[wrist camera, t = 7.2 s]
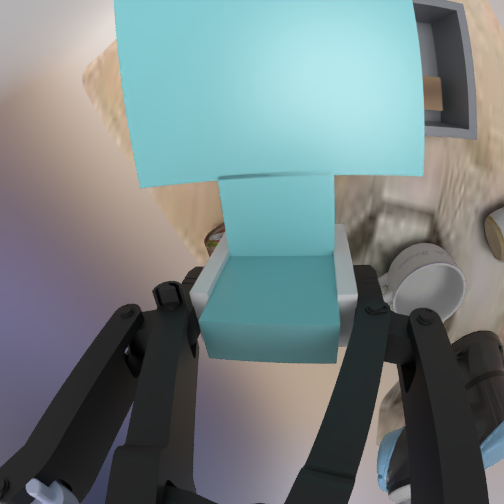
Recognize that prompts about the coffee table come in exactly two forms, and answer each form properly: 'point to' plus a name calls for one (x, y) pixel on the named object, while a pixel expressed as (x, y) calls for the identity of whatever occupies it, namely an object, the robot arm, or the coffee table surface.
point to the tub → (447, 67)
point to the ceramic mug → (496, 233)
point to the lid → (272, 143)
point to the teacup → (424, 281)
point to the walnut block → (432, 93)
